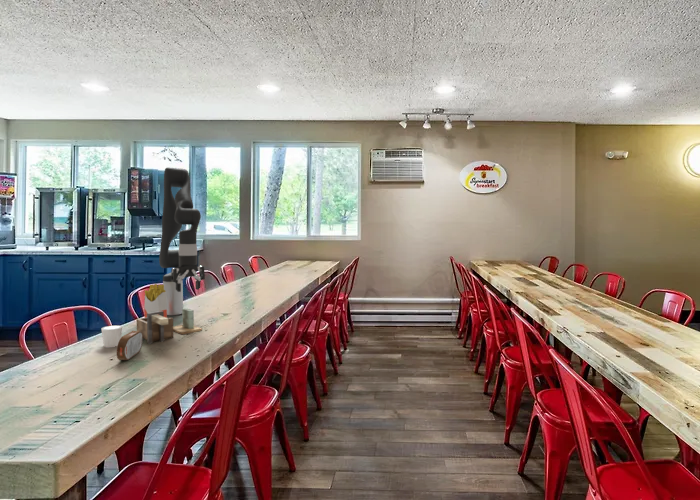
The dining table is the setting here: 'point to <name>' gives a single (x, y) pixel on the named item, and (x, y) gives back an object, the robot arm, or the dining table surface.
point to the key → (160, 319)
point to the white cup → (111, 335)
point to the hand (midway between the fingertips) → (188, 290)
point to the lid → (187, 323)
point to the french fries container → (155, 300)
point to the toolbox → (155, 328)
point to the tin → (129, 345)
